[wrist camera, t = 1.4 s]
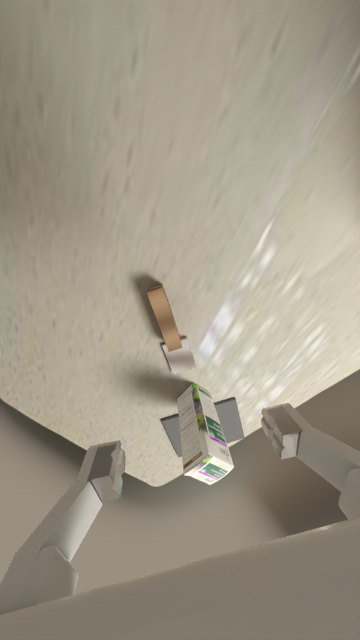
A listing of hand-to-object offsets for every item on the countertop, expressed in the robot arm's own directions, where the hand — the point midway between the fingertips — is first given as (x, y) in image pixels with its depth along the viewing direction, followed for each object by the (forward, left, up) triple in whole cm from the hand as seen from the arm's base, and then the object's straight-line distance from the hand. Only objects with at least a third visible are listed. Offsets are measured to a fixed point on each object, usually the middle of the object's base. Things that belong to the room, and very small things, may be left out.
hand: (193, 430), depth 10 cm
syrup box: (+2, +21, -23) cm, 31 cm away
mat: (+2, +32, -23) cm, 39 cm away
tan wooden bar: (+2, +5, -23) cm, 24 cm away
